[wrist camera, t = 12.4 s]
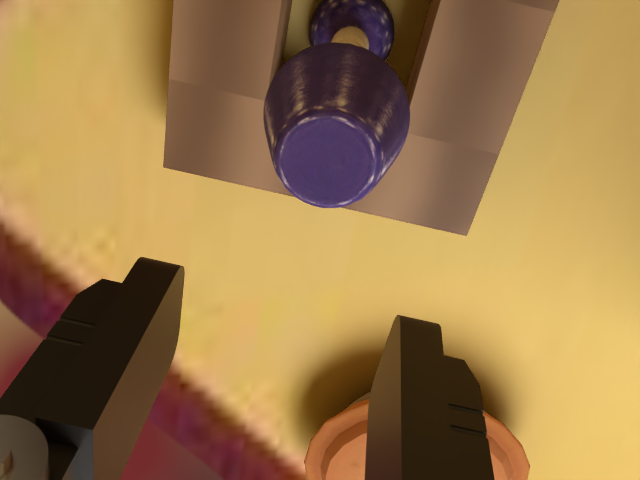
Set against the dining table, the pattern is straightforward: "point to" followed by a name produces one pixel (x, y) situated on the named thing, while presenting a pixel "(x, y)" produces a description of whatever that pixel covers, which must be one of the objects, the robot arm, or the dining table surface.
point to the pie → (351, 435)
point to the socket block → (422, 90)
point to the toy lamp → (338, 107)
